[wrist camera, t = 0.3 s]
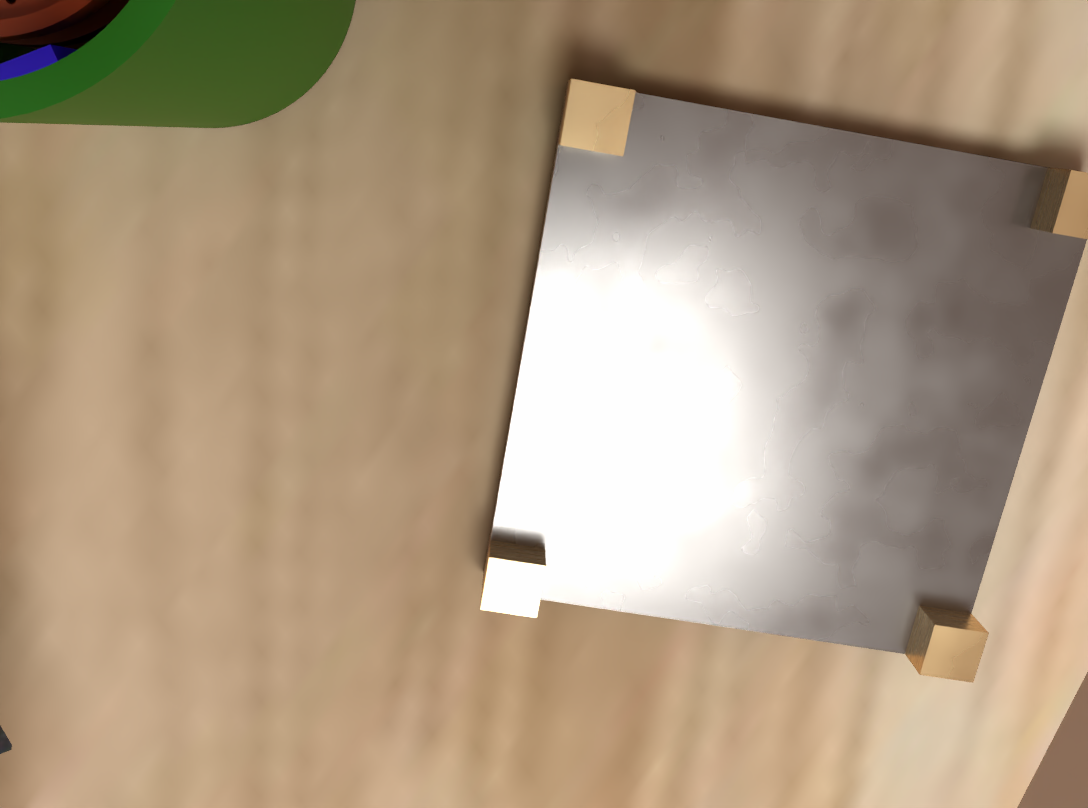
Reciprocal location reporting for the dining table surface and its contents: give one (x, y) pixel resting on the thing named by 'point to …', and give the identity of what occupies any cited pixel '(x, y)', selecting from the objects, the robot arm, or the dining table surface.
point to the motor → (163, 59)
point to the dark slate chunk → (4, 742)
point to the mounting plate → (777, 375)
